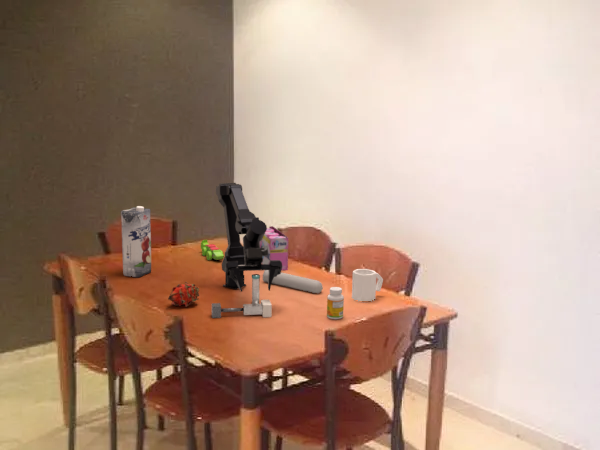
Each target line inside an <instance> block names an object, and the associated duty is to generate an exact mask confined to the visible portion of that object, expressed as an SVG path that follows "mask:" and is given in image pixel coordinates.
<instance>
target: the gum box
mask: <svg viewBox="0 0 600 450" xmlns="http://www.w3.org/2000/svg"><path fill="white" fill-rule="evenodd" d="M262 246H267V247H268V255H267V256H263V262H262V264H269V263H270V260H280V261H281V262H282V270H281V271H288V270H289V269H288V268H289V266H288V265H289V237H288V236H287V235H285V233H282V232H281V231H280V230H278V229H277V228H276V227H275V226H271V225H270V226H269V227H267V230H266V232H265V234H264V236H263V238H262V240H261V241H260V248H261V247H262Z"/></svg>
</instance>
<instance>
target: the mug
mask: <svg viewBox="0 0 600 450" xmlns="http://www.w3.org/2000/svg"><path fill="white" fill-rule="evenodd" d="M351 279H352V281H351V288H352V289H351V299H352V300H353V299H354V300H353V301H355V300H358V301H357V302H359V301H371V302H373V301H375V300H376V292H381V290H382V289H381V288H382V286H383V281H384V279H383V277H382V276H381V275H380V274H379V273H378V272H376V271H375V270H373V269H369V268H357V269H354V270H353V271H352V278H351ZM374 299H375V300H374ZM372 300H373V301H372Z"/></svg>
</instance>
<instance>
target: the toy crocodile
mask: <svg viewBox="0 0 600 450" xmlns="http://www.w3.org/2000/svg"><path fill="white" fill-rule="evenodd" d="M200 249H201V254H202V256H203V257H206V260H207V261H212V259H214V260H216V261H217V260H223V259H224V257H225V254H224V251H223V250H221V249H220V248H219V247H218V246H217V245H216V244H213V243H211V244H210V243H209V241H208V239H203V240H202V241H200Z"/></svg>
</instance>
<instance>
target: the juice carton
mask: <svg viewBox="0 0 600 450" xmlns="http://www.w3.org/2000/svg"><path fill="white" fill-rule="evenodd" d="M120 217H121V218H120V219H121V247H122V249H121V250H122V253H121V254H122V271H123V272H122V273H123V276H124V277H131V276H132V277H133V278H141V277H143V276H145V274H146V275H148V274H150V273H152V242H151V241H152V237H151V236H152V234H151V233H152V232H151V229H152V227H151V208H145V207H144V206H141V205H137V206H136V207H130V209H123V210H121V211H120Z"/></svg>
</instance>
